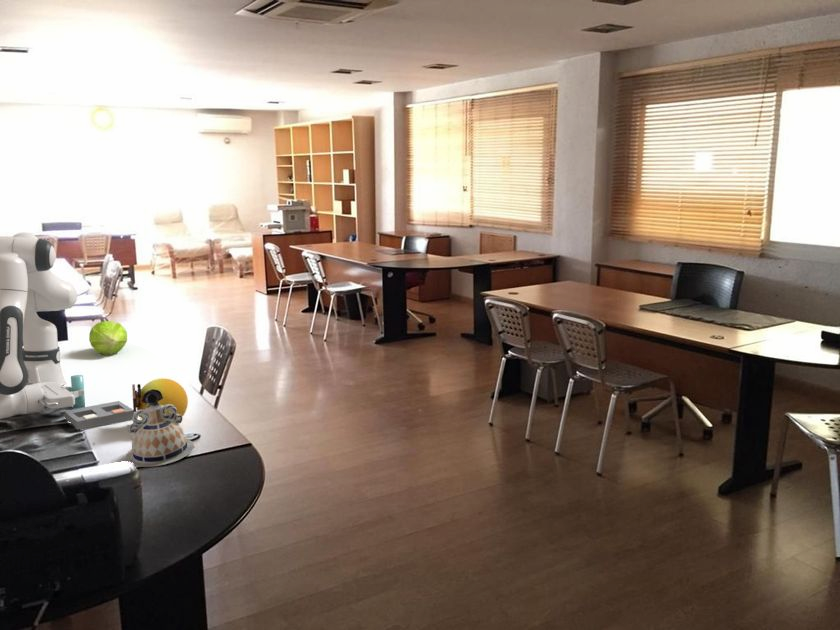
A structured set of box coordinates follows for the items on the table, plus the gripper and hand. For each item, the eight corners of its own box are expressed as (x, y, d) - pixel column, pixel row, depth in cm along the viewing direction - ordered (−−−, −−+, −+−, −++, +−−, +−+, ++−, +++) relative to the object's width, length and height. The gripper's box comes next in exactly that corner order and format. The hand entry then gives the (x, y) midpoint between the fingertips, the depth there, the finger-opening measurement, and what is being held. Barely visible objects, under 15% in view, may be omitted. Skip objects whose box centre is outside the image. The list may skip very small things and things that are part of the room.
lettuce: (134, 353, 298) (96, 362, 290) (125, 343, 317) (89, 351, 309) (128, 322, 294) (89, 329, 286) (119, 313, 313) (82, 320, 305)
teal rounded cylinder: (71, 413, 221) (69, 377, 219) (75, 409, 224) (73, 374, 222) (83, 413, 221) (80, 377, 219) (87, 409, 225) (84, 374, 223)
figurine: (125, 473, 177) (117, 400, 174) (125, 451, 193) (117, 385, 190) (197, 460, 184) (190, 390, 181) (191, 440, 200) (184, 376, 197)
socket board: (64, 420, 214) (63, 410, 213) (119, 409, 226) (118, 400, 225) (77, 431, 205) (77, 420, 204) (134, 419, 216) (134, 409, 216)
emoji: (134, 420, 215) (131, 375, 213) (186, 415, 221) (184, 371, 219) (134, 437, 201) (132, 388, 198) (190, 431, 207) (189, 383, 204)
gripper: (43, 396, 205) (91, 388, 214) (24, 381, 219) (70, 374, 229) (44, 416, 206) (92, 407, 215) (26, 400, 220) (71, 392, 230)
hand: (80, 390), depth 222 cm, fingers closed on teal rounded cylinder, 4 cm apart
